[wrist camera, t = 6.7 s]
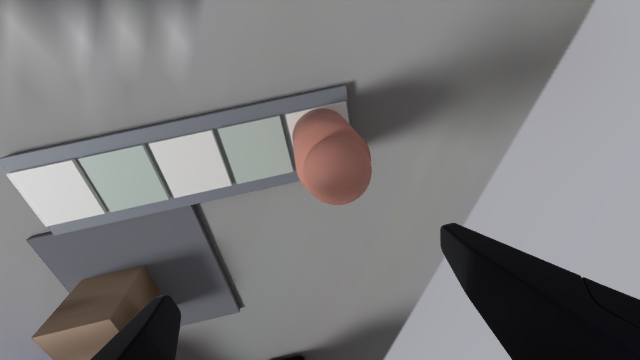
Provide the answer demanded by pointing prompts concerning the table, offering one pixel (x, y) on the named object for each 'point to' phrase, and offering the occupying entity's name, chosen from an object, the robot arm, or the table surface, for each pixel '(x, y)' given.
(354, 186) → the pawn
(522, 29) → the table surface
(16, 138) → the table surface
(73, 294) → the tan cardboard cube
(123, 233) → the mat
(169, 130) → the board
